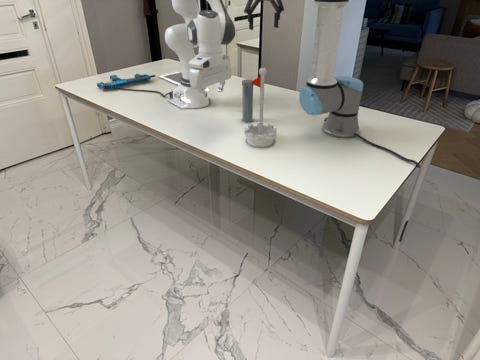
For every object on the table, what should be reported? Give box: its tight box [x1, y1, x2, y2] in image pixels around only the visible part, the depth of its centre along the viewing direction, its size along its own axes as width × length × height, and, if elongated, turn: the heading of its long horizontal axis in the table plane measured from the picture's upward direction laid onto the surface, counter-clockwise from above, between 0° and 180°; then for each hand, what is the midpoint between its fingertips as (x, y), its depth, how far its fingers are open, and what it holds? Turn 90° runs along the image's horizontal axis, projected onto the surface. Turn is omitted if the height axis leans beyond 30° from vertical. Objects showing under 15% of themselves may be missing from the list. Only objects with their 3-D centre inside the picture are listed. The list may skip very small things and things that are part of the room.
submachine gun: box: [96, 73, 156, 91], centre depth 208 cm, size 34×4×25 cm
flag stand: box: [244, 67, 278, 148], centre depth 133 cm, size 13×13×30 cm
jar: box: [241, 85, 254, 123], centre depth 155 cm, size 5×5×18 cm
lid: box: [241, 78, 255, 87], centre depth 150 cm, size 5×5×2 cm
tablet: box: [157, 70, 182, 86], centre depth 214 cm, size 32×20×1 cm, turn 41°
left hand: (212, 94), depth 135 cm, fingers open, 8 cm apart
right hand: (263, 28), depth 163 cm, fingers open, 13 cm apart
